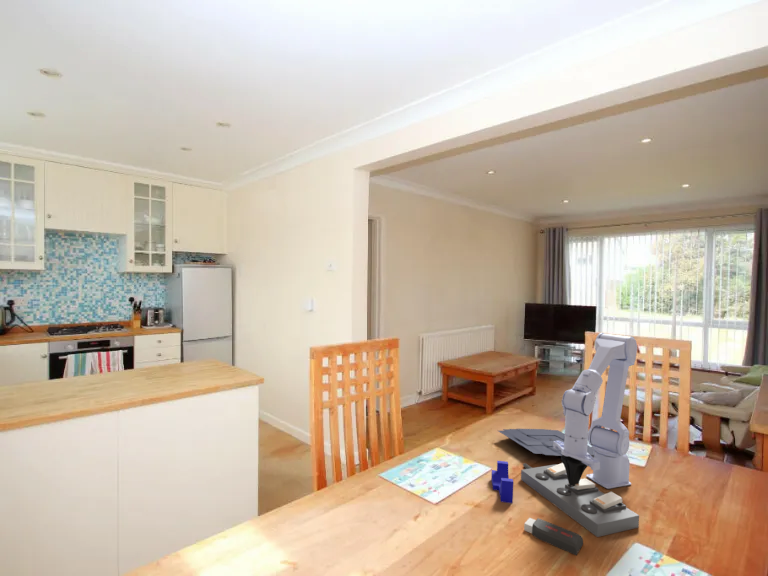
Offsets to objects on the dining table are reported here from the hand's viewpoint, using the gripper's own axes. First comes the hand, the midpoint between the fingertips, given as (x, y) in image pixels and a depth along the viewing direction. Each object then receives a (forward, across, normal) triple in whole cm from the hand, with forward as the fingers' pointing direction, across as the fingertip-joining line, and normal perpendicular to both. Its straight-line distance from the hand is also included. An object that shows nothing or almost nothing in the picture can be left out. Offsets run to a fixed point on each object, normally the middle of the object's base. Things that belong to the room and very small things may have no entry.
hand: (573, 484), depth 111 cm
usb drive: (+6, +11, -16) cm, 21 cm away
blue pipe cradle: (+5, -10, -16) cm, 19 cm away
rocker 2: (0, +8, +3) cm, 9 cm away
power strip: (+5, -4, 0) cm, 6 cm away
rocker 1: (0, -8, +3) cm, 9 cm away
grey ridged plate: (+5, -31, +19) cm, 37 cm away
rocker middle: (0, 0, +3) cm, 3 cm away
